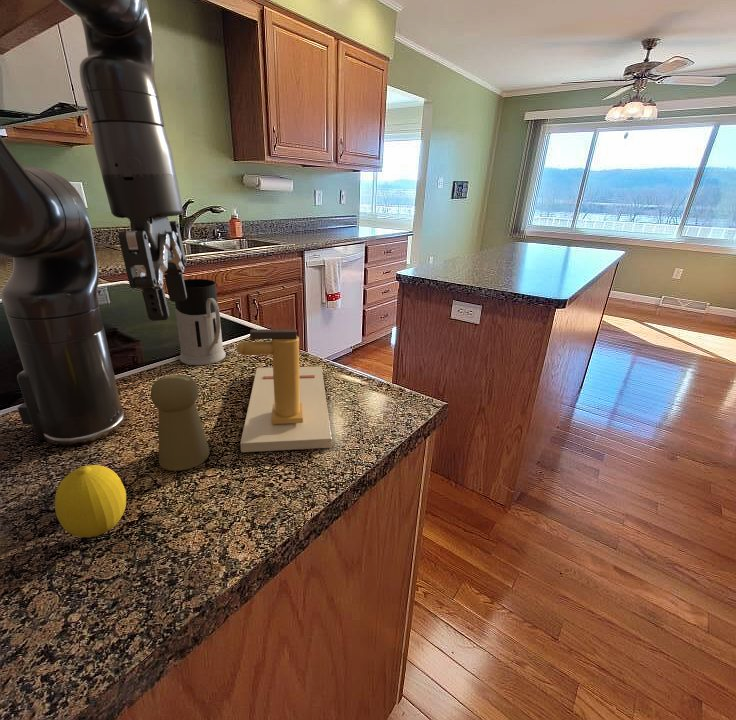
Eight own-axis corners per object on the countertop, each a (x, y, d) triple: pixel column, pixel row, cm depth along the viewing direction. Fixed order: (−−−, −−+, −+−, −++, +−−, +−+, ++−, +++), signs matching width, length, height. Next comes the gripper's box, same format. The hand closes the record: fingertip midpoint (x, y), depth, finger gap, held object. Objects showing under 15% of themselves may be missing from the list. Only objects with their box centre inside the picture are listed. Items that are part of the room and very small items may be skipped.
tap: (240, 425, 55) (232, 336, 50) (244, 409, 59) (237, 325, 54) (302, 422, 57) (301, 336, 51) (302, 407, 61) (301, 325, 55)
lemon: (102, 561, 37) (82, 493, 33) (51, 549, 37) (28, 481, 34) (145, 517, 42) (131, 454, 38) (99, 507, 42) (82, 445, 39)
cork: (154, 473, 48) (138, 393, 43) (163, 444, 53) (150, 370, 49) (207, 467, 49) (197, 389, 45) (211, 439, 55) (202, 367, 50)
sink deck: (240, 452, 52) (240, 442, 52) (257, 374, 74) (256, 366, 73) (331, 447, 54) (331, 437, 54) (321, 373, 76) (321, 365, 76)
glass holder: (215, 345, 86) (207, 276, 80) (245, 367, 77) (240, 291, 71) (173, 354, 81) (161, 281, 75) (200, 379, 71) (190, 297, 65)
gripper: (128, 173, 51) (157, 297, 57) (70, 169, 38) (116, 329, 45) (189, 173, 52) (211, 294, 58) (154, 169, 39) (186, 325, 46)
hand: (170, 309), depth 51 cm, fingers open, 8 cm apart
